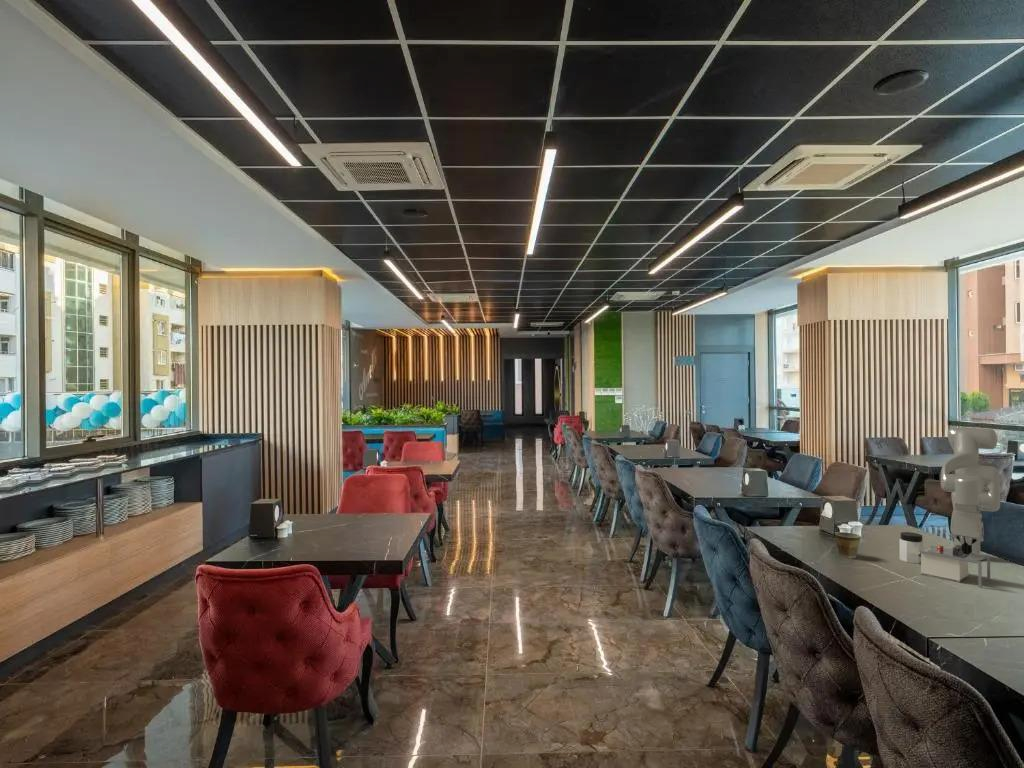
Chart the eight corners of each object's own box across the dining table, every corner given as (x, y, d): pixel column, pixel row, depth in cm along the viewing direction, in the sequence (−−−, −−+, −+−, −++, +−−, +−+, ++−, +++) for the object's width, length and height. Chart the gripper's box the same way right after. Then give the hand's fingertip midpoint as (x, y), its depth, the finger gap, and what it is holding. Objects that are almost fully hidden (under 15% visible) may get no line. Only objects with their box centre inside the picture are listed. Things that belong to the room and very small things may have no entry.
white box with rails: (925, 567, 252) (925, 544, 252) (990, 580, 235) (990, 555, 235) (914, 573, 244) (914, 549, 244) (981, 587, 226) (980, 562, 227)
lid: (934, 548, 249) (934, 539, 249) (972, 555, 239) (972, 546, 239) (925, 553, 242) (925, 544, 242) (964, 560, 231) (964, 551, 231)
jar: (917, 564, 257) (917, 537, 257) (896, 560, 263) (896, 533, 264) (926, 561, 261) (926, 534, 262) (906, 557, 268) (905, 531, 268)
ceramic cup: (864, 559, 264) (864, 537, 264) (842, 559, 264) (842, 537, 264) (849, 551, 277) (848, 530, 277) (827, 551, 277) (827, 530, 277)
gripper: (992, 510, 232) (992, 556, 232) (946, 504, 244) (947, 548, 244) (987, 512, 228) (987, 559, 227) (941, 506, 239) (941, 551, 239)
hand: (966, 553), depth 236 cm, fingers closed
